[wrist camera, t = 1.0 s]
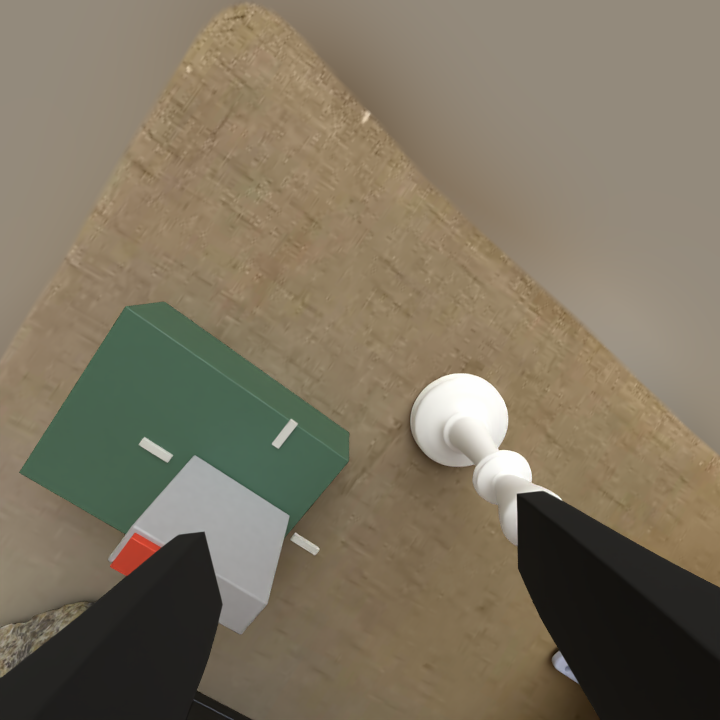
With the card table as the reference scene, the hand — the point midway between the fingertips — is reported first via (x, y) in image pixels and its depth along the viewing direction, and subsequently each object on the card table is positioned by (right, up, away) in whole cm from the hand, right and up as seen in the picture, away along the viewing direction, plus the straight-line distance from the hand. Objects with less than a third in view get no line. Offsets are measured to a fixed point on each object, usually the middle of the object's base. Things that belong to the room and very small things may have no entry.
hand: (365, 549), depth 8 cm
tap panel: (-8, 0, +10) cm, 13 cm away
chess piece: (+5, +1, +11) cm, 12 cm away
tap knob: (-6, -2, +8) cm, 10 cm away
